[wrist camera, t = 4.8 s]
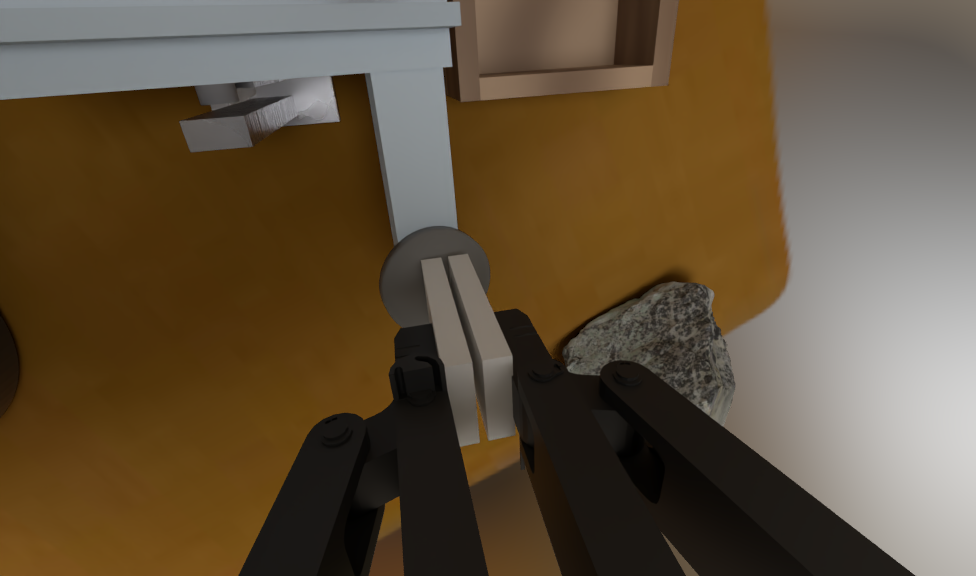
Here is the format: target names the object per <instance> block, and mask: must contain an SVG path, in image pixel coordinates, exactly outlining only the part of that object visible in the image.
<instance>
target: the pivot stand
mask: <svg viewBox="0 0 976 576" xmlns="http://www.w3.org/2000/svg"><path fill="white" fill-rule="evenodd" d="M235 87H236V90H237V93H238V97H239V100H240V101H239V102H234V103H226V104H215V105H211V108H212V111H210V112H207V113H204V114H201V115H197V116H194V117H191V118H188V119H184V120H181V121H179V122H180V125H181V128H182V131H183V133H184V136H185V139H186V142H187V144H188V147H189V150H190V152H199V151H210V150H221V149H232V148H243V147H253V146H254V145H256V144H257V143H259V142H260V141H262V140H263V139H264V138H266V137H267V136H269V135H270V134H272V133H273V132H274V131H276V130H277V129H279V128H280V127H282V126H293V125H304V124H316V123H328V122H340V120H341V119H340V114H339V109H338V104H337V100H336V95H335V90H334V85H333V80H332V76H319V77H306V78H292V79H278V80H264V81H251V82H237V83H235Z"/></svg>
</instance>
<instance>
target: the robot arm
mask: <svg viewBox="0 0 976 576" xmlns="http://www.w3.org/2000/svg"><path fill="white" fill-rule="evenodd" d="M448 264H449V273H450V282H451V289H450V285H449V282H448V279H447V275H446V272H445V269H444V265H443V262H442V259H441V257H440V258H433V259H425V260H421V265H422V272H423V279H424V286H425V293H426V300H427V307H428V314H429V322H430V324H424V325H418V326H412V327H406V328H400V330H399V332H398V333H397V335H396V337H395V338H394V343H395V363H394V364H393V366H392V367H391V368H390V372H389V379H390V384H391V389H392V393H393V398H394V400H393V402H392V403H391V404H390V405H389V406H388V407H387V408H386V409H385V410H383V411H382V412H380V413H378V414H376V415H375V416H372V417H370V418H368V419H365V420H363V419H362V418H361V417H359V416H358V415H356V414H351V413H341V414H335V415H332V416H330V417H327V418H325V419H323V420H322V421H320V422H319V423H318V424H316V425H315V426H314V427H313V428H312V430H311V431H310V432H309V434H308V435H307V437H306V439H305V441H304V443H303V445H302V447H301V449H300V451H299V453H298V455H297V457H296V459H295V461H294V464H293V466H292V468H291V470H290V472H289V474H288V476H287V478H286V480H285V482H284V484H283V486H282V488H281V490H280V492H279V494H278V496H277V498H276V500H275V502H274V504H273V506H272V508H271V510H270V512H269V514H268V516H267V519H266V521H265V523H264V525H263V527H262V529H261V531H260V533H259V535H258V537H257V539H256V541H255V543H254V545H253V547H252V549H251V551H250V553H249V555H248V557H247V559H246V561H245V563H244V565H243V567H242V569H241V572H240V574H239V576H369V572H370V567H371V563H372V559H373V555H374V551H375V547H376V543H377V539H378V534H379V530H380V526H381V522H382V518H383V514H384V510H385V503H387V502H389V501H391V500H393V499H394V498H396V497H398V496H400V511H401V529H402V545H403V563H404V576H489V575H488V571H487V567H486V562H485V557H484V553H483V548H482V544H481V539H480V535H479V530H478V526H477V521H476V517H475V512H474V508H473V503H472V499H471V494H470V490H469V485H468V481H467V476H466V472H465V467H464V463H463V458H462V454H461V449H460V446H465V445H470V444H475V443H480V441H479V430H478V418H477V407H476V397H477V401H478V405H479V408H480V412H481V415H482V419H483V422H484V426H485V430H486V433H487V437H488V440H494V439H499V438H504V437H508V436H513V435H515V424H516V427H517V429H518V432H519V435H520V465H521V470H523V469H525V466H526V469H527V472H528V475H529V478H530V481H531V483H532V487H533V490H534V493H535V495H536V499H537V502H538V505H539V508H540V511H541V514H542V517H543V520H544V523H545V526H546V528H547V532H548V535H549V538H550V541H551V544H552V547H553V550H554V553H555V556H556V559H557V562H558V565H559V568H560V571H561V574H562V576H686V575H685V573H684V572H683V570H682V568H681V566H680V565H679V563H678V561H677V559H676V558H675V556H674V554H673V552H672V551H671V549H670V547H669V545H668V544H667V542H666V540H665V539H664V537H663V535H662V533H663V534H664V535H665V536H666V538H667V539H668V540H669V541H670V542H671V543H672V545H673V546H674V547H675V548H676V549H677V550H678V552H679V553H680V554H681V555H682V556H683V557H684V559H685V560H686V561H687V562H688V563H689V564H690V565H691V567H692V568H693V569H694V570H695V571H696V572H697V573H698V575H699V576H915V575H914V574H912V573H911V572H910V571H909V570H907V569H906V568H905V567H903V566H902V565H901V564H900V563H898V562H897V561H896V560H894V559H893V558H892V557H891V556H889V555H888V554H887V553H885V552H884V551H882V550H881V549H880V548H879V547H878V546H876V545H875V544H874V543H872V542H871V541H870V540H868V539H867V538H866V537H865V536H863V535H862V534H861V533H860V532H858V531H857V530H856V529H854V528H853V527H852V526H851V525H849V524H848V523H847V522H845V521H844V520H843V519H841V518H840V517H839V516H838V515H836V514H835V513H834V512H832V511H831V510H830V509H828V508H827V507H826V506H825V505H823V504H822V503H821V502H820V501H818V500H817V499H816V498H814V497H813V496H812V495H810V494H809V493H808V492H807V491H805V490H804V489H803V488H801V487H800V486H799V485H798V484H796V483H795V482H794V481H792V480H791V479H790V478H789V477H787V476H786V475H785V474H783V473H782V472H781V471H779V470H778V469H777V468H776V467H774V466H773V465H772V464H770V463H769V462H768V461H767V460H765V459H764V458H763V457H761V456H760V455H759V454H758V453H756V452H755V451H754V450H752V449H751V448H750V447H748V446H747V445H746V444H745V443H743V442H742V441H741V440H739V439H738V438H737V437H736V436H734V435H733V434H732V433H730V432H729V431H728V430H727V429H725V428H724V427H723V426H721V425H720V424H719V423H718V422H716V421H715V420H714V419H712V418H711V417H710V416H709V415H707V414H706V413H705V412H703V411H702V410H701V409H700V408H698V407H697V406H696V405H694V404H693V403H692V402H690V401H689V400H688V399H687V398H685V397H684V396H683V395H681V394H680V393H679V392H678V391H676V390H675V389H674V388H672V387H671V386H670V385H669V384H667V383H666V382H665V381H663V380H662V379H661V378H660V377H658V376H657V375H656V374H654V373H653V372H652V371H650V370H649V369H648V368H646V367H644V366H643V365H641V364H639V363H636V362H632V361H626V360H617V361H612V362H609V363H608V364H606V365H604V366H603V368H602V369H601V371H600V375H582V374H574V373H571V372H569V371H568V369H567V368H566V367H565V366H564V365H563V364H562V363H561V362H559V361H557V360H555V359H552V358H551V356H550V354H549V353H548V351H547V349H546V347H545V346H544V344H543V342H542V340H541V339H540V337H539V335H538V334H537V332H536V330H535V328H534V326H533V325H532V323H531V321H530V319H529V318H528V316H527V315H526V314H524V313H523V312H521V311H520V310H518V309H511V310H505V311H499V312H493V310H492V308H491V306H490V303H489V301H488V299H487V297H486V294H485V292H484V290H483V288H482V285H481V283H480V281H479V278H478V276H477V274H476V272H475V269H474V267H473V265H472V263H471V260H470V258H469V256H468V254H462V255H455V256H448ZM451 291H452V292H451ZM18 376H19V365H18V357H17V351H16V348H15V345H14V341H13V339H12V337H11V334H10V332H9V330H8V328H7V326H6V324H5V322H4V320H3V319H2V317H1V316H0V417H1V416H2V415H3V414H4V412H5V411H6V410H7V408H8V407H9V405H10V403H11V401H12V399H13V397H14V394H15V391H16V388H17V383H18ZM475 394H476V396H475ZM661 532H662V533H661Z"/></svg>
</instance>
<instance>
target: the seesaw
mask: <svg viewBox="0 0 976 576" xmlns="http://www.w3.org/2000/svg"><path fill="white" fill-rule="evenodd" d="M457 26H461V13H460V2H447V0H0V100H4V99H18V98H32V97H45V96H59V95H73V94H86V93H100V92H114V91H127V90H141V89H155V88H169V87H182V86H194V87H195V90H196V93H197V95H198V98H199V101H200V104H201V105H215V104H226V103H234V102H239V101H240V100H239V97H238V93H237V90H236V87H235V83H237V82H251V81H264V80H278V79H292V78H306V77H319V76H333V75H347V74H360V73H365V77H366V83H367V89H368V95H369V101H370V107H371V113H372V119H373V125H374V130H375V136H376V142H377V148H378V154H379V160H380V166H381V172H382V178H383V184H384V189H385V195H386V201H387V207H388V213H389V219H390V225H391V231H392V237H393V243H394V248H393V249H392V250H391V251H390V253H389V254H388V256H387V257H386V259H385V261H384V264H383V266H382V269H381V273H380V279H379V289H380V295H381V298H382V301H383V303H384V306H385V307H386V309H387V311H388V313H389V314H390V316H391V317H392V318H393V320H394V321H395V322H396V323H397V324H399V325H400V326H401V327H403V328H406V327H412V326H418V325H424V324H430V322H429V314H428V307H427V300H426V293H425V286H424V279H423V272H422V265H421V260H425V259H433V258H440V257H441V259H442V262H443V265H444V269H445V272H446V275H447V279H448V282H449V285H450V289H451V282H450V273H449V264H448V256H455V255H462V254H468V256H469V258H470V260H471V263H472V265H473V267H474V269H475V272H476V274H477V276H478V278H479V281H480V283H481V285H482V288H483V290H484V292H485V294H486V293H487V291H488V287H489V282H490V267H489V262H488V259H487V257H486V254H485V252H484V251H483V249H482V248H481V247H480V245H479V244H478V243H477V242H476V241H474V240H473V239H472V238H471V237H469V236H468V235H467V234H465V233H464V232H462V231H460V230H458V226H457V215H456V204H455V194H454V183H453V172H452V161H451V151H450V140H449V129H448V118H447V108H446V97H445V86H444V75H443V67H452V57H451V45H450V33H449V28H452V27H457ZM451 292H452V291H451Z"/></svg>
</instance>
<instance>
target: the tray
mask: <svg viewBox="0 0 976 576" xmlns="http://www.w3.org/2000/svg"><path fill="white" fill-rule="evenodd" d="M447 2H460V13H461V26H457V27H452V28H449V33H450V45H451V57H452V67H444V72H445V82H446V93H447V95H448V96H450V97H452V98H454V99H456V100H458V101H460V102H467V101H480V100H492V99H504V98H517V97H529V96H541V95H554V94H566V93H578V92H590V91H603V90H615V89H627V88H640V87H652V86H664V85H668V81H669V73H670V65H671V57H672V49H673V41H674V34H675V26H676V18H677V10H678V2H679V0H447Z"/></svg>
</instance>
